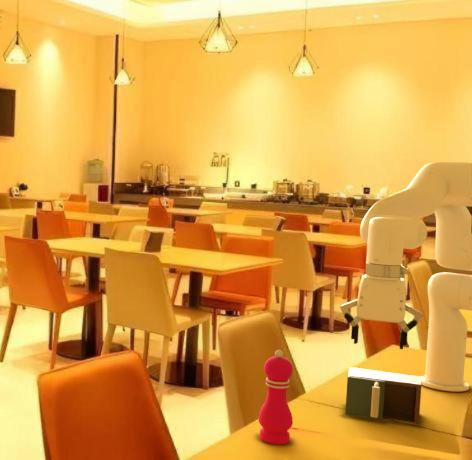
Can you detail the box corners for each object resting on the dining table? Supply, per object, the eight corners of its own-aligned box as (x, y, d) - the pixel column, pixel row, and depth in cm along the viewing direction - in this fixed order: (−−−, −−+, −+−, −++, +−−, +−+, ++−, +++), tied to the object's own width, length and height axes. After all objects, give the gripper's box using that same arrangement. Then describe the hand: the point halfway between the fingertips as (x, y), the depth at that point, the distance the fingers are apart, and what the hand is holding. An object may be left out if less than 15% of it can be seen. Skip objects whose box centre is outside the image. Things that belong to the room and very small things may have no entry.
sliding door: (345, 414, 183) (347, 375, 182) (382, 420, 180) (384, 380, 179) (343, 423, 177) (345, 383, 176) (381, 429, 174) (384, 388, 173)
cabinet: (347, 406, 191) (349, 367, 190) (417, 416, 184) (420, 376, 183) (345, 415, 184) (347, 375, 183) (418, 426, 177) (421, 384, 176)
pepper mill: (293, 447, 162) (298, 355, 160) (258, 443, 164) (263, 352, 162) (289, 435, 169) (294, 347, 167) (256, 432, 171) (261, 344, 169)
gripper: (425, 273, 172) (419, 347, 174) (344, 266, 180) (339, 337, 181) (426, 277, 166) (420, 353, 167) (341, 270, 173) (336, 343, 174)
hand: (378, 345), depth 174 cm, fingers open, 9 cm apart
